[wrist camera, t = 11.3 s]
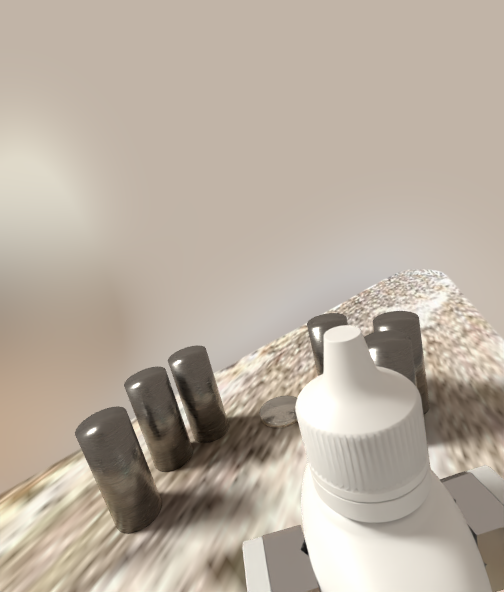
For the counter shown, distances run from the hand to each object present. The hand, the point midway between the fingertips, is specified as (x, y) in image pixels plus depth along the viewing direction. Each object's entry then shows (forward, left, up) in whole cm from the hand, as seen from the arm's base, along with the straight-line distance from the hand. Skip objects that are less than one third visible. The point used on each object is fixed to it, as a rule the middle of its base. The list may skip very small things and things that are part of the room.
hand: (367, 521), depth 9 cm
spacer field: (-1, +17, -9) cm, 19 cm away
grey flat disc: (0, +19, -10) cm, 22 cm away
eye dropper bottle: (0, -1, -6) cm, 7 cm away
